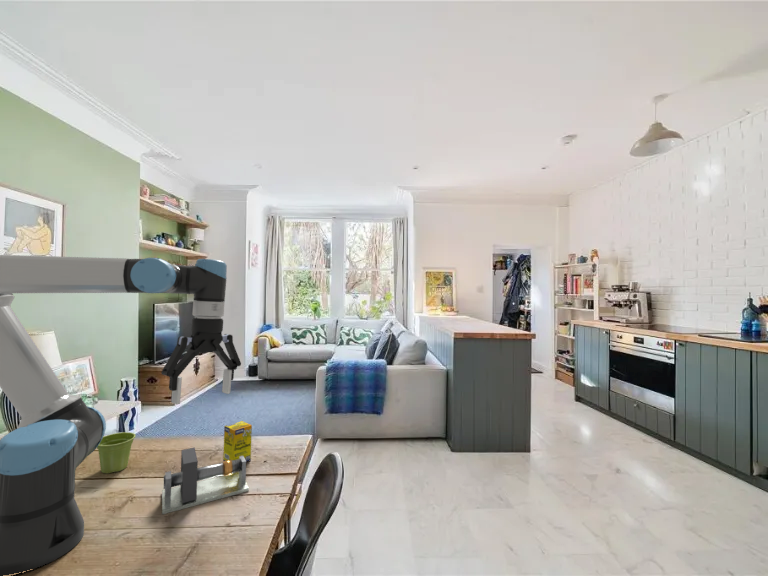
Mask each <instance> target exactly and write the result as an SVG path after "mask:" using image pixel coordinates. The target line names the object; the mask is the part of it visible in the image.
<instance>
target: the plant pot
mask: <svg viewBox="0 0 768 576" xmlns="http://www.w3.org/2000/svg"><path fill="white" fill-rule="evenodd" d="M136 436H137V435H136V433H134V432H123V431H122V432H117V433H115V432H114V433H111V434H106V435H104V436H103V438H102V440H101V442H100V444H99V445H98V447H97V448H96V449H97V450H98V451H97V452H98V457H99V458H98V459H99V466H100V472H101V473H102V474H112V473H114V472H120V471H123V470H124V469H126V468H127V467H128V464H129V459H130V454H131V449H132V445H133V443H134V439H135V438H136Z"/></svg>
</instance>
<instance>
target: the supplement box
mask: <svg viewBox="0 0 768 576" xmlns="http://www.w3.org/2000/svg"><path fill="white" fill-rule="evenodd" d="M252 427H253V426H252V424H250V423H248V422H245V421H243V420H241V421H238V422H235V423H234V422H233V423H231V424H226V425H224V429H223V430H224V431H223V432H224V433H223V458H222V462H223V461H227V460H237V459H239V456H244V458H245V460H246V463H247V461H248V462H250V461H252V433H253V432H252V429H253V428H252ZM249 460H250V461H249Z"/></svg>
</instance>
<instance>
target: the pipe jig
mask: <svg viewBox="0 0 768 576" xmlns="http://www.w3.org/2000/svg"><path fill="white" fill-rule="evenodd" d="M164 473H165V474H164V475H163V490H161V504H162V505H161V507H162V508H161V515H166V514H168V513H174V512H177V511H180V510H185V509H187V508H191V507H194V506H198V505H202V504H206V503H209V502H213V501H214V502H215V501H216V500H221V499H224V498H227V497H232V496H235V495H239V494H243V493H246V492H249V491H250V488H249V485H248V483H247V481H246V480H247V479H246V478H247V462H246V460H245V458H244V456H239V459H237V460H227V461H223V460H222V462H219V463H216V464H215V463H214V464H210V465H207V466H200V467H197V499H196V500H193V501H189V502H185V503H182V496H181V487H180V485H182V478H183V472H181V471H180V472H175V473H172V471H171V470H170V471H165V472H164Z"/></svg>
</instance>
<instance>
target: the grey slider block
mask: <svg viewBox="0 0 768 576" xmlns="http://www.w3.org/2000/svg"><path fill="white" fill-rule="evenodd" d="M180 453H181V455H180V457H181V458H180V472H183V478H182V485H179V486H180V487H181V496H182V503H185V502H189V501H193V500H196V499H197V482H198V481H197V468H199V467H198V466H199V465H198V461H199V460H198V457H197V451H196V448H195V447H190V448H184V449H181V450H180Z"/></svg>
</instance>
